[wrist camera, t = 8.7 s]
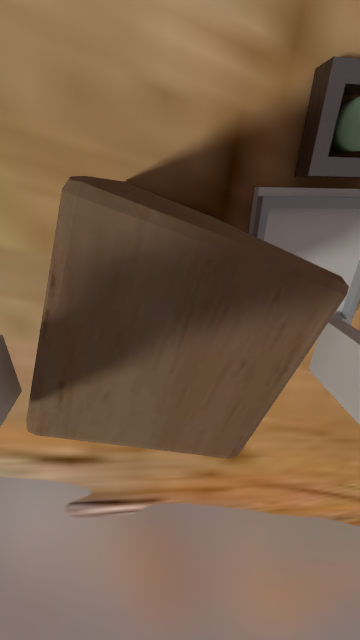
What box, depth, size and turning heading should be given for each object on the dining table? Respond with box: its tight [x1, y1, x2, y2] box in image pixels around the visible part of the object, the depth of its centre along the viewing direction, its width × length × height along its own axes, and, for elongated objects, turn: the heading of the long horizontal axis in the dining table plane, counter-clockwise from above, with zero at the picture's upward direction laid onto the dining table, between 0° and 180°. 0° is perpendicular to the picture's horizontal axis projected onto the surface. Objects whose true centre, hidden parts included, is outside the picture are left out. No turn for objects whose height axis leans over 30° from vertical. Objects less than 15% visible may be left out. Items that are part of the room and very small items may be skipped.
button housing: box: [295, 57, 360, 178], centre depth 23 cm, size 8×8×2 cm
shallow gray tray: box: [248, 187, 360, 325], centre depth 29 cm, size 16×14×2 cm
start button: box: [331, 96, 360, 153], centre depth 22 cm, size 4×4×2 cm
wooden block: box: [26, 176, 349, 458], centre depth 18 cm, size 10×10×20 cm
